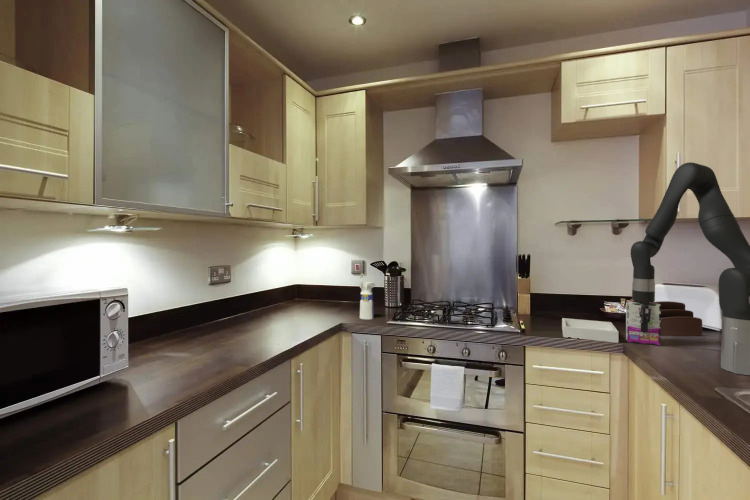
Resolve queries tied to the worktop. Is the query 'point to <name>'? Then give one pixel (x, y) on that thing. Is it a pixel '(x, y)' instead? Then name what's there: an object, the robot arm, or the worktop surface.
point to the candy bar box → (635, 325)
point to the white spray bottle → (366, 299)
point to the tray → (589, 330)
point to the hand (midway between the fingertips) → (642, 330)
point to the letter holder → (678, 320)
